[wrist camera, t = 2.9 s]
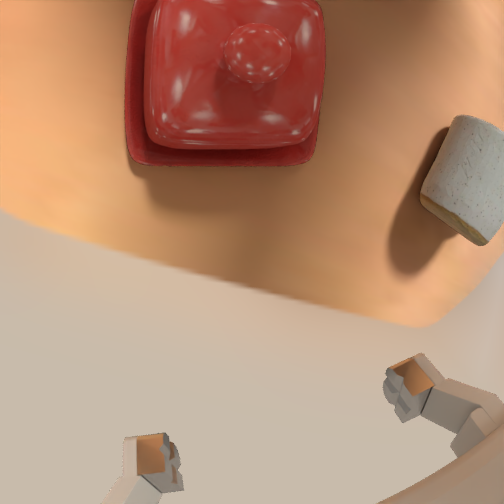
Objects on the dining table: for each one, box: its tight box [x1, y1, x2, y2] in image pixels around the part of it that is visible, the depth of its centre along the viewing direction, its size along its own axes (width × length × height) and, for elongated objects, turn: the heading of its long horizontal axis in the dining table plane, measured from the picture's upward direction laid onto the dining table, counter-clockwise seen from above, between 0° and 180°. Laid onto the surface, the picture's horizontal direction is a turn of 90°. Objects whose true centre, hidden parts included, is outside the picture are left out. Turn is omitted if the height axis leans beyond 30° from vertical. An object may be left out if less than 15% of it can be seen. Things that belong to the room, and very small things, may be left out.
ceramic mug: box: [419, 115, 504, 246], centre depth 20 cm, size 11×8×8 cm
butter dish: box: [125, 0, 326, 166], centre depth 13 cm, size 12×12×8 cm
